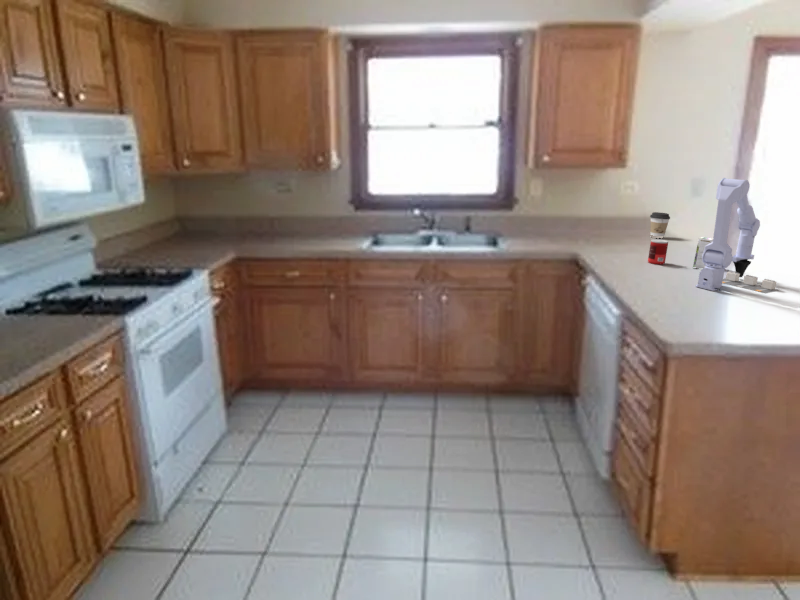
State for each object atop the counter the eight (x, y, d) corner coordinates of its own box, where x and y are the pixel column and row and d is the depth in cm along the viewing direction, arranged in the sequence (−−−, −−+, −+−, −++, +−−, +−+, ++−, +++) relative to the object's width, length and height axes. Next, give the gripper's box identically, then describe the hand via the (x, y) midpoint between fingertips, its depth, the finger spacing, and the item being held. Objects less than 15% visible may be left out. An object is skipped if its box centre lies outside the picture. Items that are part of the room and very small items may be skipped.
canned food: (667, 263, 297) (670, 240, 294) (660, 265, 291) (664, 242, 288) (651, 260, 302) (654, 238, 299) (645, 262, 296) (648, 240, 293)
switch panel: (764, 295, 243) (765, 293, 242) (711, 283, 260) (712, 280, 260) (780, 292, 249) (780, 289, 249) (727, 280, 267) (727, 277, 266)
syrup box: (695, 266, 292) (701, 236, 289) (709, 268, 289) (714, 238, 285) (692, 268, 288) (698, 237, 284) (706, 270, 285) (711, 239, 281)
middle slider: (752, 285, 253) (754, 277, 252) (743, 283, 257) (744, 275, 256) (756, 284, 255) (758, 276, 254) (746, 282, 258) (748, 274, 257)
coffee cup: (648, 239, 365) (652, 214, 361) (644, 236, 376) (648, 211, 372) (669, 240, 363) (673, 215, 359) (664, 237, 374) (668, 212, 370)
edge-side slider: (771, 289, 247) (773, 281, 246) (761, 287, 251) (762, 279, 250) (775, 288, 249) (776, 280, 248) (765, 286, 252) (766, 278, 251)
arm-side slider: (734, 281, 259) (736, 273, 258) (725, 279, 263) (727, 271, 262) (738, 280, 261) (740, 272, 260) (729, 278, 264) (730, 270, 263)
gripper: (745, 248, 254) (739, 280, 257) (763, 246, 261) (757, 277, 265) (728, 245, 259) (722, 276, 263) (747, 243, 267) (741, 273, 271)
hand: (739, 276), depth 264 cm, fingers closed
